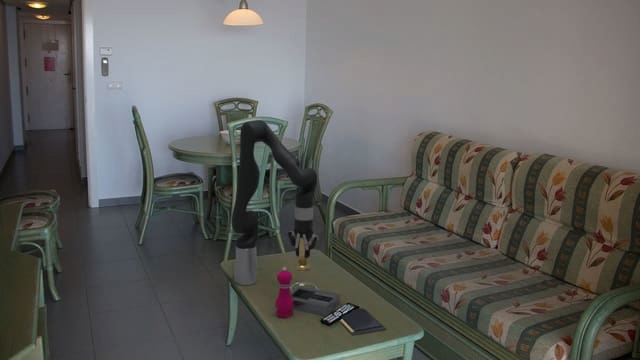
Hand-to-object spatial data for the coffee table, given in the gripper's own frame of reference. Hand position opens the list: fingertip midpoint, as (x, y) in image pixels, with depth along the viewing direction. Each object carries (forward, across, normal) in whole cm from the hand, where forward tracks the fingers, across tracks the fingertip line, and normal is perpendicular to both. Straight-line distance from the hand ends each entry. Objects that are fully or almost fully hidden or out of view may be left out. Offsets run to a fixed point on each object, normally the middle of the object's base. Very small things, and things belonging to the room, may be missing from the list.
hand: (302, 256), depth 232 cm
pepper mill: (+21, -1, -13) cm, 24 cm away
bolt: (+5, 0, 0) cm, 5 cm away
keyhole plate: (+20, +6, 0) cm, 21 cm away
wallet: (+21, +28, -6) cm, 35 cm away
